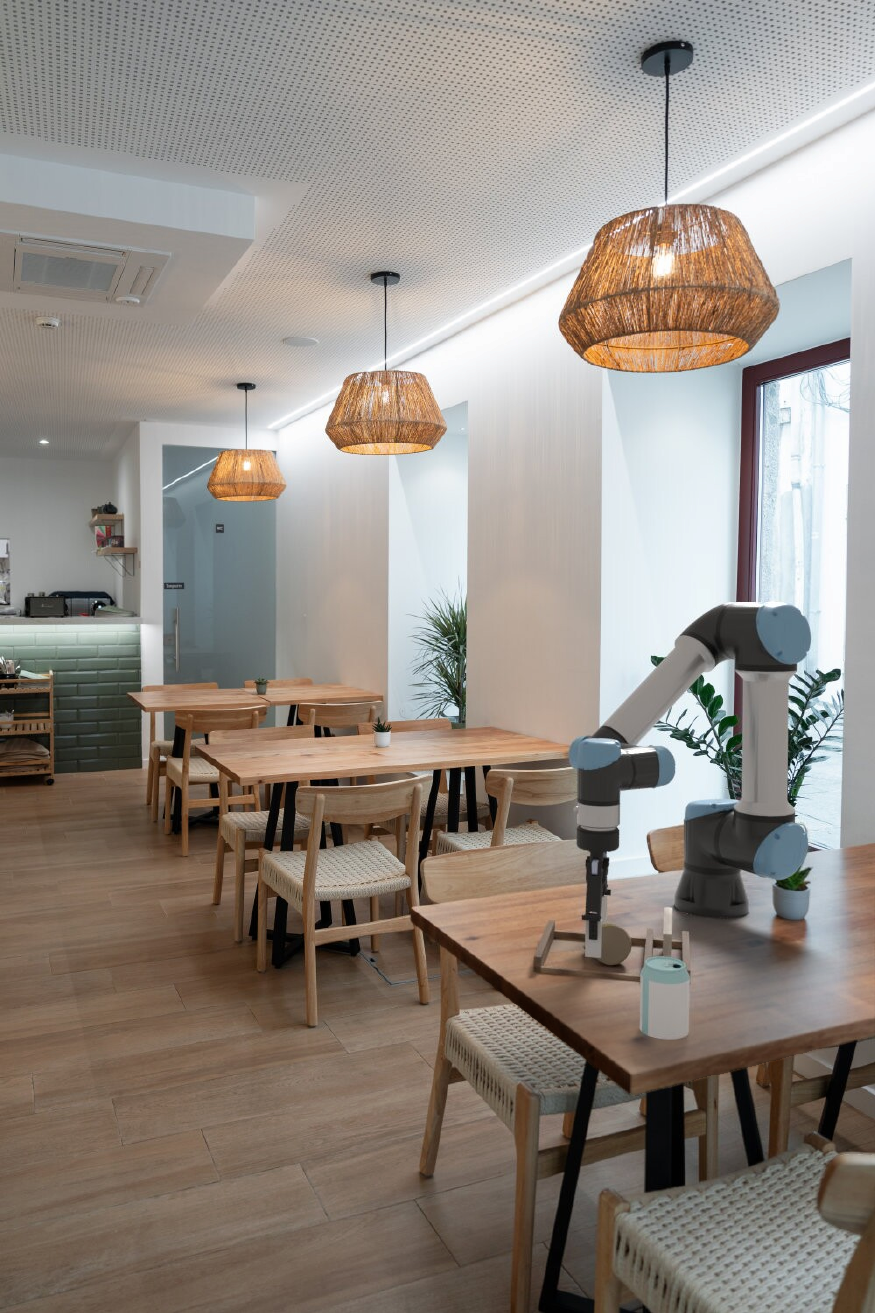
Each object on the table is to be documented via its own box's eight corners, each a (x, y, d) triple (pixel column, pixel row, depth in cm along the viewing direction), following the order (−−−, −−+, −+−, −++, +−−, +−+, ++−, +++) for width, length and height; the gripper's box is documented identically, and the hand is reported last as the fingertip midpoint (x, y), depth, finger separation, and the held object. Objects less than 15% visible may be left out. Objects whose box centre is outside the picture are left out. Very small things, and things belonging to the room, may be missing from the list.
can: (668, 1029, 150) (670, 951, 149) (698, 1048, 143) (700, 967, 143) (629, 1037, 147) (631, 958, 146) (658, 1057, 140) (659, 974, 140)
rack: (688, 951, 183) (689, 905, 182) (690, 993, 163) (691, 941, 163) (548, 939, 189) (548, 894, 188) (533, 978, 170) (534, 928, 169)
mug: (625, 945, 182) (641, 911, 176) (616, 988, 174) (632, 954, 168) (586, 930, 183) (600, 896, 177) (575, 972, 175) (590, 938, 169)
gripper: (583, 810, 189) (581, 920, 190) (569, 841, 164) (567, 966, 166) (623, 812, 187) (621, 923, 188) (615, 844, 163) (613, 970, 164)
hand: (596, 943), depth 177 cm, fingers open, 13 cm apart
